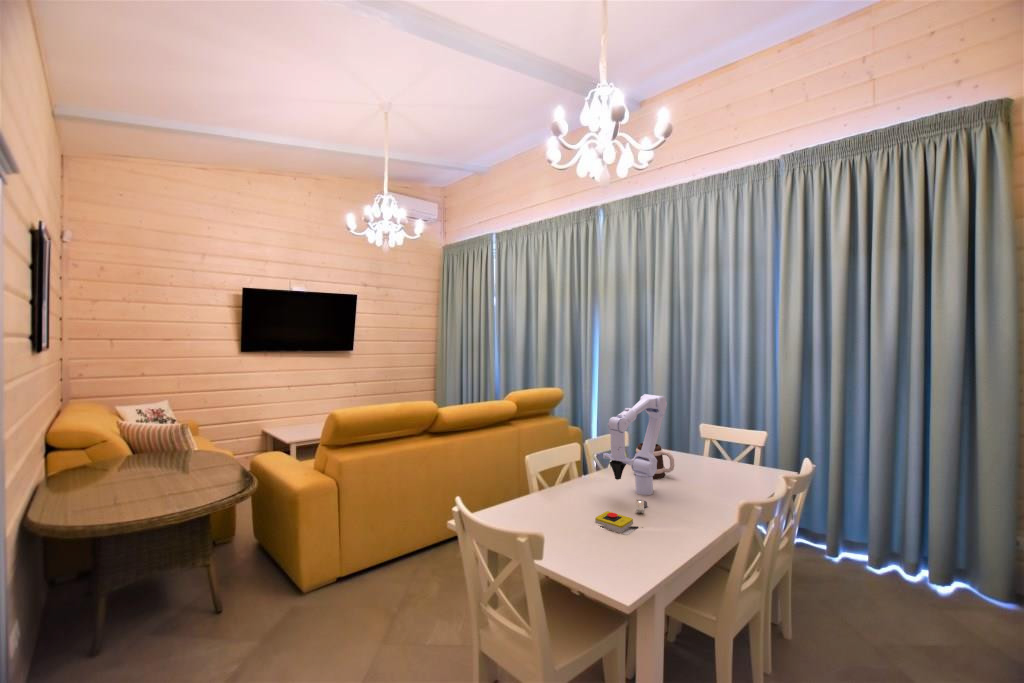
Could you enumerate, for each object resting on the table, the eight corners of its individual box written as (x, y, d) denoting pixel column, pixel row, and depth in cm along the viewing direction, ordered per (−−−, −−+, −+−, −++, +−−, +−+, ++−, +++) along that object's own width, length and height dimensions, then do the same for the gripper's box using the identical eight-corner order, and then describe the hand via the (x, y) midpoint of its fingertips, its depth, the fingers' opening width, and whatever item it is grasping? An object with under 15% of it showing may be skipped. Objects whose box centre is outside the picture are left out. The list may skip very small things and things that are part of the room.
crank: (637, 503, 189) (637, 492, 188) (647, 504, 187) (647, 493, 187) (634, 514, 178) (634, 501, 178) (645, 515, 176) (644, 502, 176)
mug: (629, 476, 229) (628, 445, 229) (640, 468, 241) (640, 440, 241) (669, 483, 217) (669, 451, 217) (679, 475, 229) (679, 445, 229)
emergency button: (604, 506, 179) (639, 516, 168) (604, 517, 179) (639, 528, 169) (590, 513, 172) (626, 524, 162) (590, 525, 172) (626, 537, 162)
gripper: (598, 444, 195) (598, 476, 195) (625, 451, 183) (625, 485, 184) (609, 442, 199) (609, 473, 199) (636, 448, 188) (637, 481, 188)
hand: (618, 478), depth 192 cm, fingers closed
